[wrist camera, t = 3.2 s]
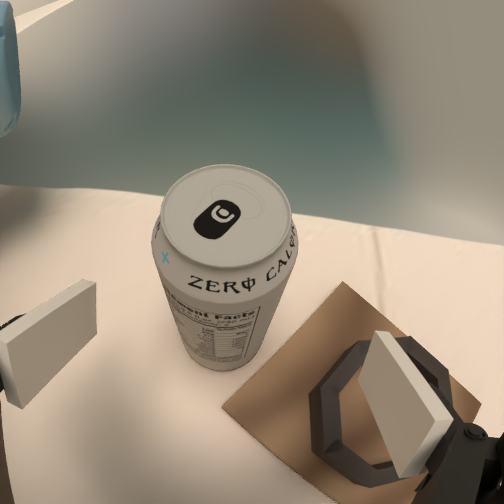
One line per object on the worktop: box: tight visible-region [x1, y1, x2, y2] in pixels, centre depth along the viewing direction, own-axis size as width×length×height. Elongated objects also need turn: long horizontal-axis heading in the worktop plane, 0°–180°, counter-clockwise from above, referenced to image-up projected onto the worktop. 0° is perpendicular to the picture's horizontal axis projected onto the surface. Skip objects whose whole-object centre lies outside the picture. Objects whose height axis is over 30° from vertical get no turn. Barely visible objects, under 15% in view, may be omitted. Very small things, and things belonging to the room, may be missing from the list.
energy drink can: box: [151, 164, 298, 371], centre depth 18 cm, size 6×6×15 cm
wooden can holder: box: [222, 281, 481, 504], centre depth 20 cm, size 18×14×4 cm
